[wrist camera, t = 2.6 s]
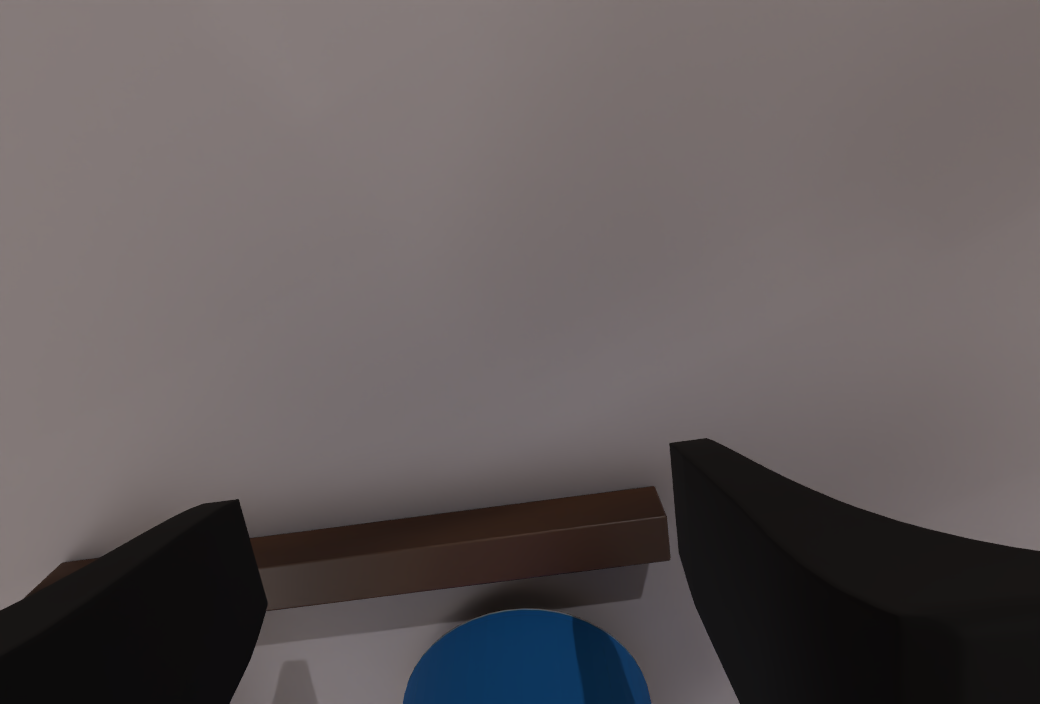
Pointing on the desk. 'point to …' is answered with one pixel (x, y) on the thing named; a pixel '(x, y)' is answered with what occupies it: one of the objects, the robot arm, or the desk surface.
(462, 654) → the beverage can
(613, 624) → the desk surface
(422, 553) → the can track
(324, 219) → the desk surface
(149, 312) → the desk surface
